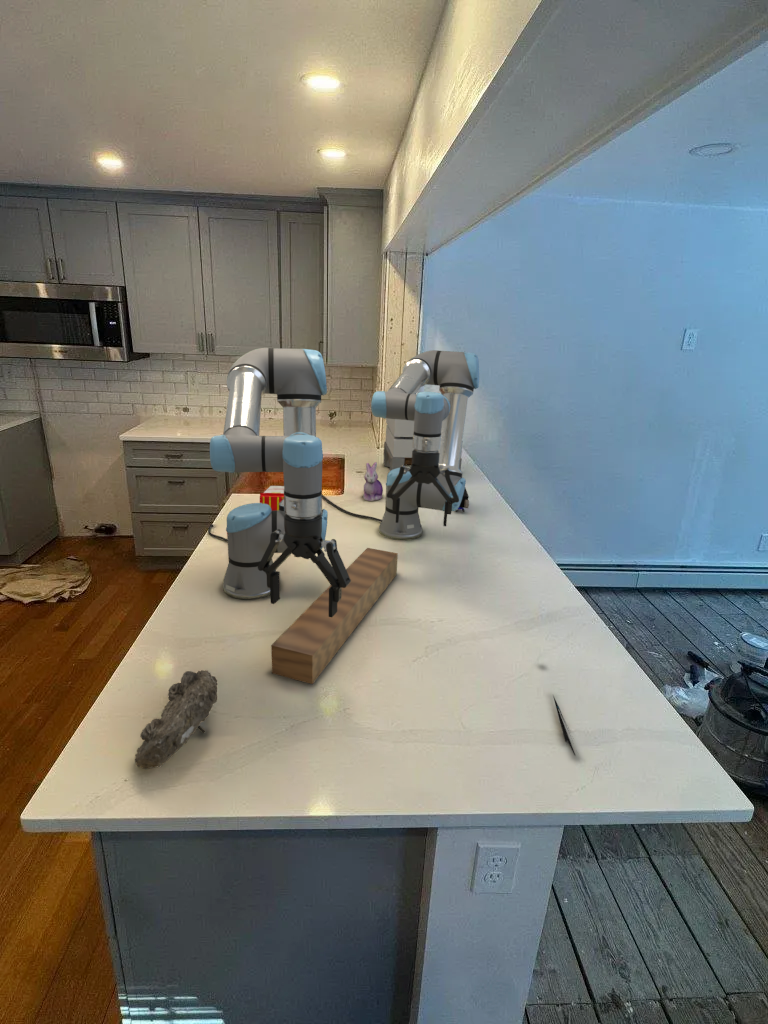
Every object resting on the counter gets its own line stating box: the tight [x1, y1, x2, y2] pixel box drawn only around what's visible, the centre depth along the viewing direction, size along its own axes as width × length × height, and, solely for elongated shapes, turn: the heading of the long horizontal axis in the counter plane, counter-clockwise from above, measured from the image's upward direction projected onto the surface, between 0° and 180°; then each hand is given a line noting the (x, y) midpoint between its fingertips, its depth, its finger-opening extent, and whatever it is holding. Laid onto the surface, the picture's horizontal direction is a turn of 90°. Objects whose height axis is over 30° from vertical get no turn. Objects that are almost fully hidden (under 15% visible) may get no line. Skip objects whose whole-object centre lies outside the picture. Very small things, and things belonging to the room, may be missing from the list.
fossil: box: [134, 669, 218, 770], centre depth 103 cm, size 22×10×15 cm
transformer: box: [383, 392, 465, 472], centre depth 268 cm, size 34×33×41 cm
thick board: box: [270, 547, 399, 685], centre depth 144 cm, size 57×10×7 cm, turn 161°
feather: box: [552, 695, 579, 756], centre depth 115 cm, size 2×28×2 cm
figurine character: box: [455, 487, 470, 513], centre depth 227 cm, size 7×8×15 cm
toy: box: [259, 485, 284, 510], centre depth 208 cm, size 12×13×30 cm
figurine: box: [362, 461, 384, 502], centre depth 233 cm, size 9×10×15 cm
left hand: (303, 607), depth 120 cm, fingers open, 13 cm apart
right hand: (420, 523), depth 162 cm, fingers open, 13 cm apart
